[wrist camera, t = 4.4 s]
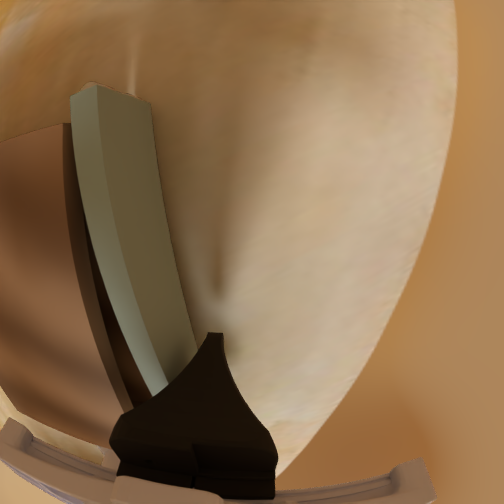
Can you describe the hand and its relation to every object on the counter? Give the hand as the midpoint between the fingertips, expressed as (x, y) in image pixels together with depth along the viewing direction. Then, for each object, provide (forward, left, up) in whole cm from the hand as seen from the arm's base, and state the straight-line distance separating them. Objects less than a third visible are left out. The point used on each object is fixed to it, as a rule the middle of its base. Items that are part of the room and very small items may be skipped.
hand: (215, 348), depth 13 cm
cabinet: (+1, +10, -2) cm, 11 cm away
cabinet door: (+2, +2, -1) cm, 3 cm away
